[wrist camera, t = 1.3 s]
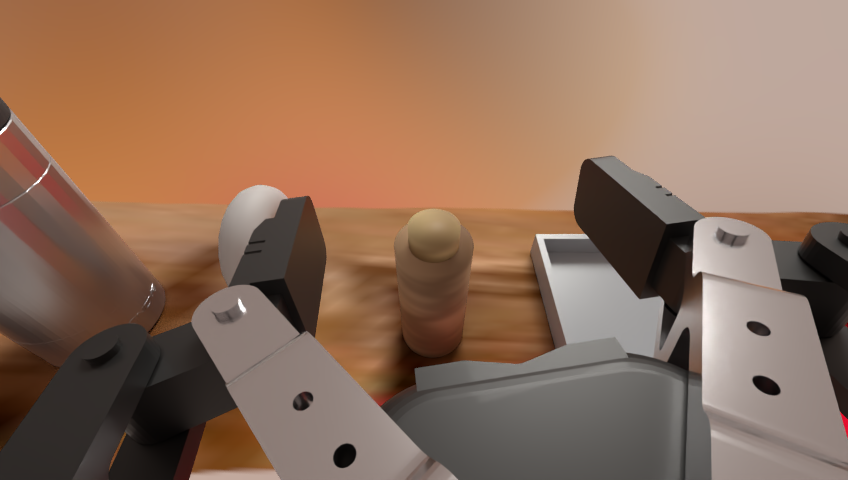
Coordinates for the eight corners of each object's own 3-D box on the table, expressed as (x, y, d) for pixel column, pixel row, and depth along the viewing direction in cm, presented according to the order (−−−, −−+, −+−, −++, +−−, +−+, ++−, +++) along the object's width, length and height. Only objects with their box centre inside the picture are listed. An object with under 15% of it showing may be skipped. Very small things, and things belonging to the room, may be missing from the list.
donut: (280, 242, 38) (245, 159, 31) (313, 243, 38) (286, 160, 31) (243, 328, 31) (187, 248, 24) (283, 330, 31) (240, 249, 24)
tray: (564, 385, 28) (574, 371, 26) (530, 251, 37) (535, 234, 35) (760, 386, 27) (783, 371, 26) (676, 251, 37) (689, 234, 35)
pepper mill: (401, 357, 29) (389, 257, 21) (403, 304, 33) (395, 199, 24) (464, 357, 29) (479, 257, 21) (460, 304, 33) (472, 199, 24)
